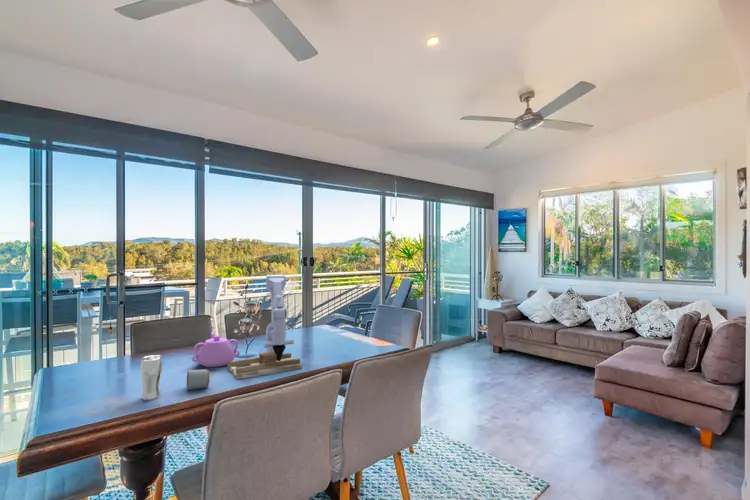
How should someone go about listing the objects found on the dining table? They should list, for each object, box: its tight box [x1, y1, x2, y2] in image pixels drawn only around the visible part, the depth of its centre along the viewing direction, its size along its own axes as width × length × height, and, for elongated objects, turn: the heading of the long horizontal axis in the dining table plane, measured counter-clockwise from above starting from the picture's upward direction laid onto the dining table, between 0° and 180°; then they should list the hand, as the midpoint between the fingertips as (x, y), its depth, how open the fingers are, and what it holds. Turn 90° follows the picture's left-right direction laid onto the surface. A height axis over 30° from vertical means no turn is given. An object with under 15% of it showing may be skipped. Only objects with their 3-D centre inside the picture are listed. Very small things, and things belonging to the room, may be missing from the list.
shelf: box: [227, 352, 303, 380], centre depth 181 cm, size 17×30×4 cm, turn 124°
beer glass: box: [140, 354, 163, 401], centre depth 144 cm, size 7×7×15 cm
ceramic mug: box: [186, 369, 210, 391], centre depth 156 cm, size 11×8×8 cm
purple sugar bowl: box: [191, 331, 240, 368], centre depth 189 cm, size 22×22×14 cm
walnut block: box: [258, 351, 276, 364], centre depth 181 cm, size 6×6×5 cm
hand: (278, 360), depth 185 cm, fingers closed
